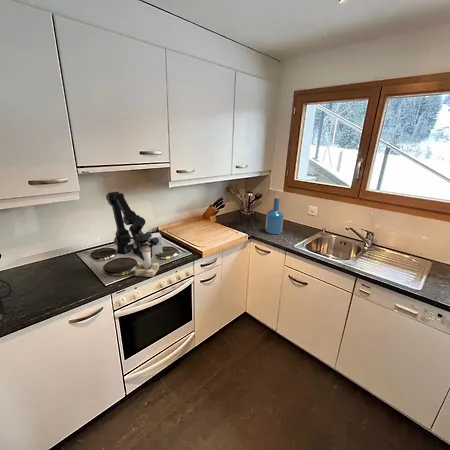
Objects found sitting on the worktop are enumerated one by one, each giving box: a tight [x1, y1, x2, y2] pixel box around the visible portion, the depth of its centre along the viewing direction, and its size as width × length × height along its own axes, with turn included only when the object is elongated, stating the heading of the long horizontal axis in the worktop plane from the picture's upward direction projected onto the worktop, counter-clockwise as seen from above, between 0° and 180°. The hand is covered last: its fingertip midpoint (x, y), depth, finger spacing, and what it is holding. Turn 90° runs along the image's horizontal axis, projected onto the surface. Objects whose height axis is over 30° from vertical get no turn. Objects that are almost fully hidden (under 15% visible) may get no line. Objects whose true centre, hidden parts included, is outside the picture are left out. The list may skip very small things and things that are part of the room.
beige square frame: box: [134, 261, 160, 278], centre depth 144 cm, size 10×10×4 cm
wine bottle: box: [264, 195, 284, 235], centre depth 207 cm, size 14×13×30 cm
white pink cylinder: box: [140, 246, 152, 269], centre depth 142 cm, size 5×5×12 cm
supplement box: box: [147, 232, 163, 256], centre depth 167 cm, size 7×7×13 cm
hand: (147, 258), depth 141 cm, fingers closed on white pink cylinder, 4 cm apart
